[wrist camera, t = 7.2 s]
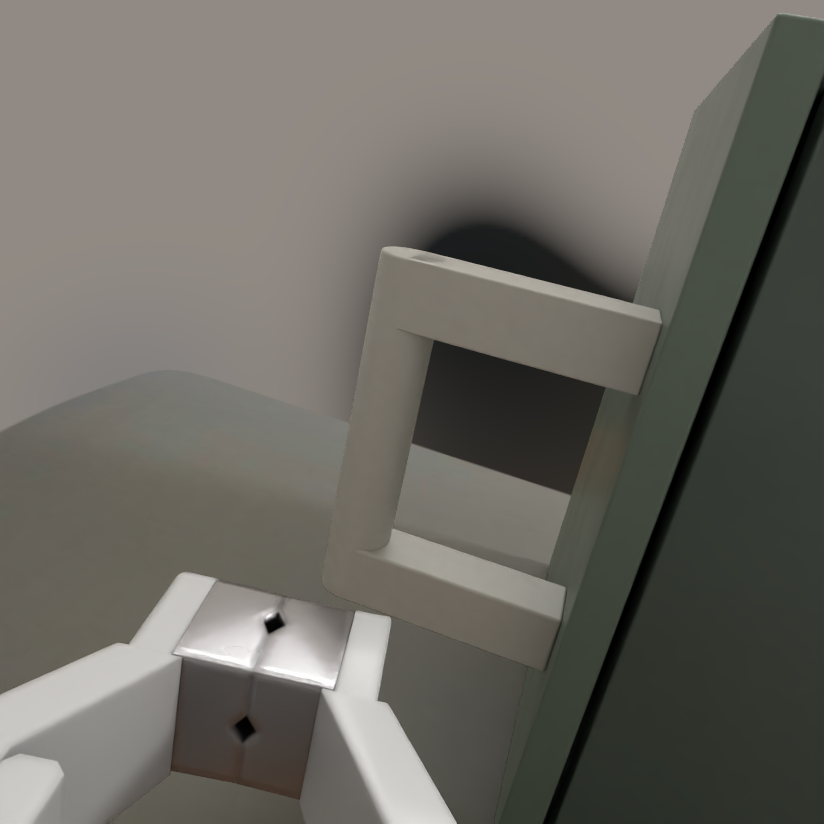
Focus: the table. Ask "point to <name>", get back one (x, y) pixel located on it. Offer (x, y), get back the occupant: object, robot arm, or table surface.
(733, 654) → the green cabinet
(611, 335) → the cabinet door
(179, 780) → the table surface
